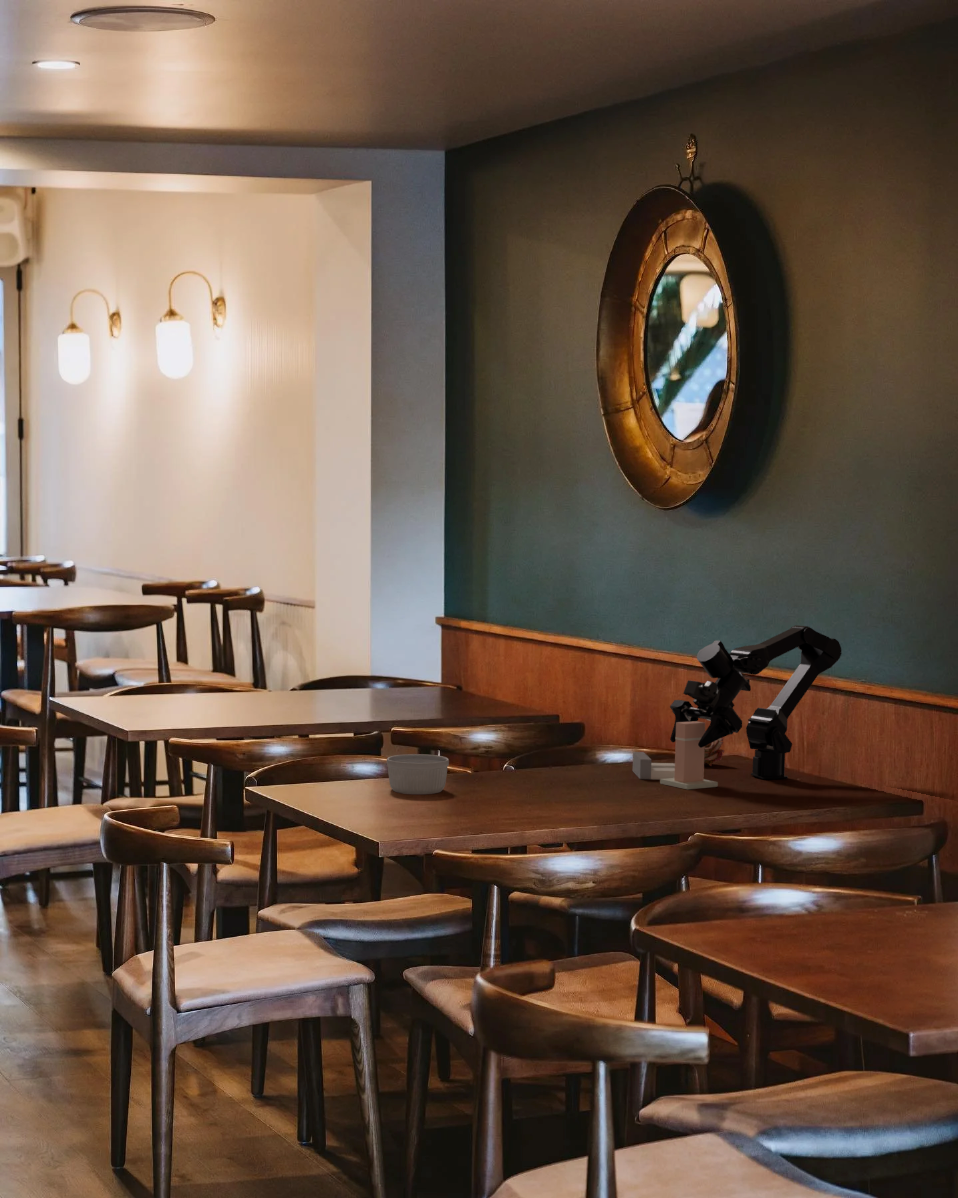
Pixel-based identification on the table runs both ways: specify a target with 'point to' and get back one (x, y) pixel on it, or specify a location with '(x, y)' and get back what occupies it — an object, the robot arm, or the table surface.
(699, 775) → the banded beige post
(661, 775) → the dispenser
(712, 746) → the flower
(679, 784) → the pad
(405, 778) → the ramekin
